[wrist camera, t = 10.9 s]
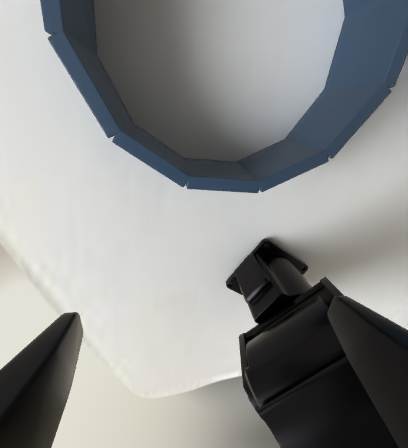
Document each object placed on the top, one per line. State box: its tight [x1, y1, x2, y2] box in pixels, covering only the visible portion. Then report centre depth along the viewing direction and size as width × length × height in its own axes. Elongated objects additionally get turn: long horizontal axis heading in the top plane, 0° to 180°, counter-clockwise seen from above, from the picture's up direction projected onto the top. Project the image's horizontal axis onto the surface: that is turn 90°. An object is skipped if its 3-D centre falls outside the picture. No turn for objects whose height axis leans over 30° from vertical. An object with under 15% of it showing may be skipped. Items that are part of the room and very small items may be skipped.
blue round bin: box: [40, 0, 408, 193], centre depth 13 cm, size 18×18×6 cm
